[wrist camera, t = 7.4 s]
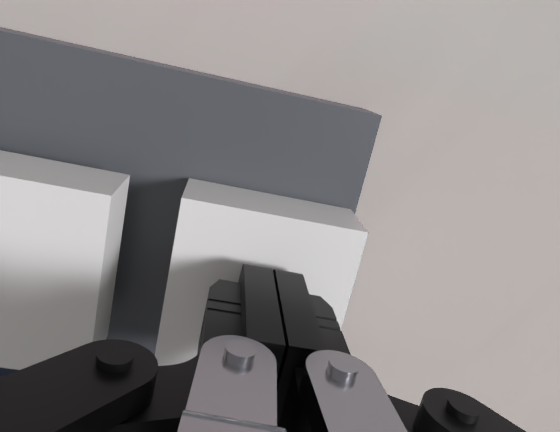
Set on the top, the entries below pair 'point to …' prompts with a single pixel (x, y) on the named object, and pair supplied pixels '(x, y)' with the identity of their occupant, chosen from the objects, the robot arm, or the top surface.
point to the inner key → (252, 253)
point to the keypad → (171, 147)
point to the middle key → (56, 255)
